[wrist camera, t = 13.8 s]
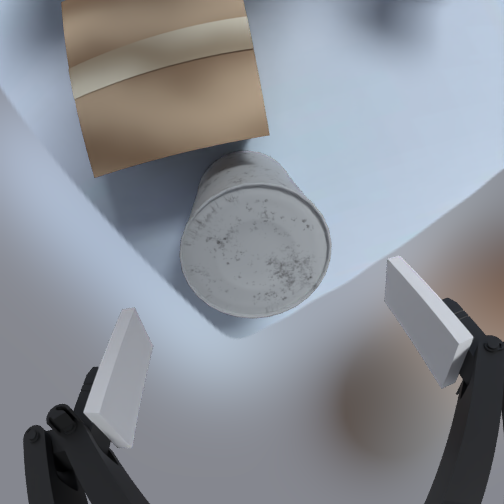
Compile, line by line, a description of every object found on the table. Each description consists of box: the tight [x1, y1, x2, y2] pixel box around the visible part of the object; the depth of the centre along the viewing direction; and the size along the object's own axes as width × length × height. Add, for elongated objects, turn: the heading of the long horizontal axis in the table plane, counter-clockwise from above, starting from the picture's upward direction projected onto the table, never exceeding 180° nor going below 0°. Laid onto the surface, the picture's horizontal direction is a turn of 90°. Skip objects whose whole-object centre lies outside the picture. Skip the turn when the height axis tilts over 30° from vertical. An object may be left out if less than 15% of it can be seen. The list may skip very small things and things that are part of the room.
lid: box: [61, 0, 269, 178], centre depth 16 cm, size 14×12×1 cm
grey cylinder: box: [180, 151, 332, 318], centre depth 25 cm, size 10×10×12 cm
